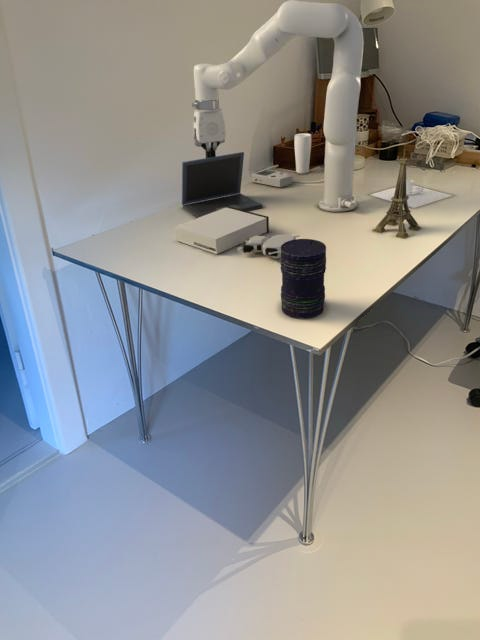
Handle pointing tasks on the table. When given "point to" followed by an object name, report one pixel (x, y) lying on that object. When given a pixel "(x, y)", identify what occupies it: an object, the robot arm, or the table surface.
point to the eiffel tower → (399, 201)
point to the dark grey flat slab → (221, 205)
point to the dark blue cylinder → (303, 278)
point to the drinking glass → (302, 152)
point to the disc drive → (222, 229)
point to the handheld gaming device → (272, 178)
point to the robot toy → (266, 245)
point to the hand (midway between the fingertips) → (211, 161)
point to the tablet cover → (211, 177)
